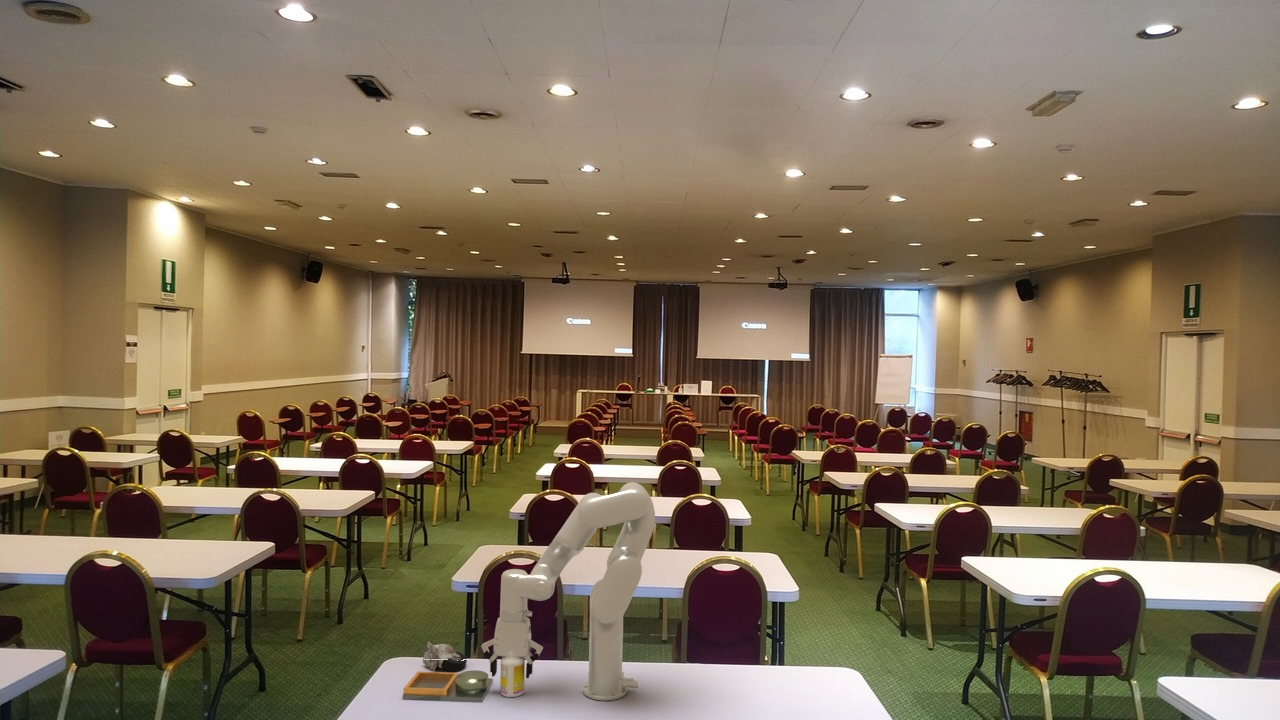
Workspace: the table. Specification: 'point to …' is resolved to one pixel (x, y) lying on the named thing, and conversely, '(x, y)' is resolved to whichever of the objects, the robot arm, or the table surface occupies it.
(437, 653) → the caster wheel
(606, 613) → the robot arm
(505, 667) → the supplement bottle
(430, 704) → the table surface
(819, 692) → the table surface
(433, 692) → the grey base plate
